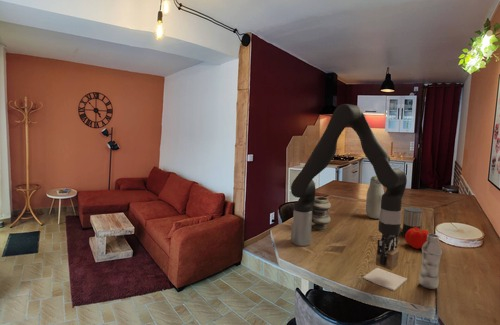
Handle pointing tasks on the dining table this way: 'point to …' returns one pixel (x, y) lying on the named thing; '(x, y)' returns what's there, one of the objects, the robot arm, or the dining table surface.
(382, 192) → the white bottle
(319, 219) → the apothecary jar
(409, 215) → the milk frother
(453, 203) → the dining table surface
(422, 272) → the plastic bottle
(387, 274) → the plate
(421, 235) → the tomato
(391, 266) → the cube
